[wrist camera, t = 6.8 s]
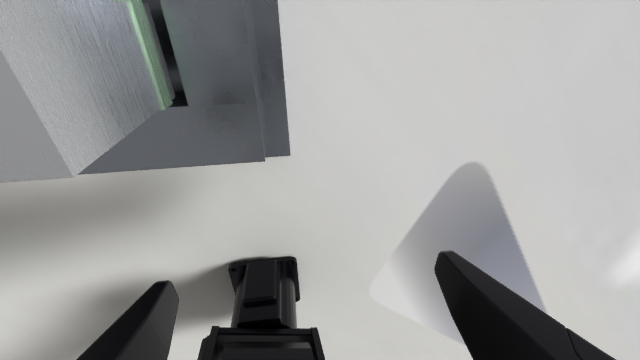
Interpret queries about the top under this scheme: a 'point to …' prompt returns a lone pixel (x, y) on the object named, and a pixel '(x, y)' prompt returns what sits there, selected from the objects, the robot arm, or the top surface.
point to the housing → (212, 89)
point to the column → (74, 82)
